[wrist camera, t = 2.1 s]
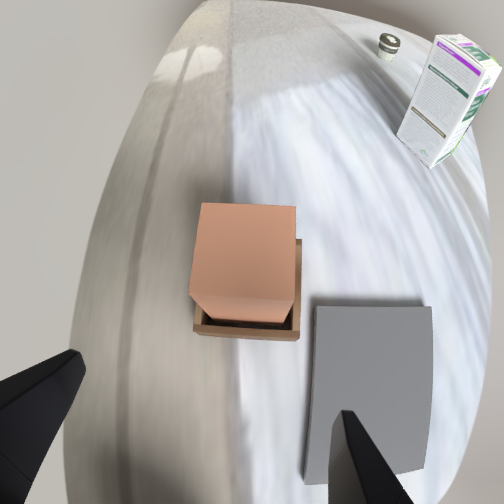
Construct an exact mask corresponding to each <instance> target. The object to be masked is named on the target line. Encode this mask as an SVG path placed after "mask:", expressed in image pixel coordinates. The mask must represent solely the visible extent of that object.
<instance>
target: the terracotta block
mask: <svg viewBox="0 0 504 504" xmlns="http://www.w3.org/2000/svg"><path fill="white" fill-rule="evenodd" d="M295 253H296V207H295V206H277V205H257V204H232V203H202V205H201V211H200V217H199V223H198V229H197V235H196V242H195V249H194V255H193V262H192V269H191V277H190V284H189V292H188V294H189V295H190V296H191V297H192V298H193V299H194V300H195V301H196V303H197V304H198V305H199V306H200V307H201V308H202V309H203V310H204V311H205V312H206V313H207V314H208V315H209V316H210V317H211V318H212V319H213V320H214V321H215V322H218V323H231V324H245V325H262V326H282V324H283V322H284V320H285V318H286V316H287V314H288V312H289V310H290V308H291V306H292V304H293V302H294V298H295Z"/></svg>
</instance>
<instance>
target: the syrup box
mask: <svg viewBox="0 0 504 504" xmlns="http://www.w3.org/2000/svg"><path fill="white" fill-rule="evenodd" d="M501 70H502V66H501V65H500V64H499V63H498V62H497V61H496V60H495V59H494V58H493V57H492V56H491V55H490V54H489V53H487V52H486V51H485V50H484V49H482V48H481V47H479V46H478V45H477V44H475V43H474V42H472V41H471V40H469V39H468V38H466V37H464V36H463V35H461V34H457V35H436V36H435V39H434V42H433V45H432V48H431V51H430V53H429V56H428V59H427V61H426V64H425V67H424V69H423V72H422V74H421V77H420V79H419V82H418V84H417V87H416V89H415V92H414V94H413V97H412V99H411V101H410V104H409V106H408V109H407V111H406V113H405V116H404V118H403V120H402V123H401V125H400V127H399V129H398V132H397V134H396V136H397V137H398V138H399V139H400V140H401V141H402V142H403V143H404V144H405V145H406V146H407V147H408V148H409V149H410V150H411V151H412V152H413V153H414V154H415V155H416V156H417V157H418V158H419V159H420V160H421V161H422V162H423V163H424V164H425V165H426V166H427V167H428V168H429V169H431V168H432V167H434V166H435V165H437V164H438V163H440V162H441V161H442V160H444V159H445V158H446V157H448V156H449V155H450V154H452V152H453V151H454V149H455V148H456V146H457V145H458V143H459V142H460V140H461V139H462V137H463V135H464V134H465V132H466V131H467V129H468V128H469V126H470V124H471V123H472V121H473V120H474V118H475V116H476V115H477V113H478V111H479V109H480V108H481V106H482V104H483V102H484V101H485V99H486V97H487V96H488V94H489V92H490V90H491V88H492V87H493V84H494V83H495V81H496V79H497V77H498V75H499V74H500V71H501Z"/></svg>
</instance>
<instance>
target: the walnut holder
mask: <svg viewBox="0 0 504 504" xmlns="http://www.w3.org/2000/svg"><path fill="white" fill-rule="evenodd" d="M301 265H302V239H296V253H295V298H294V302H293V304H292V306H291V308H290V324H289V330H268V329H251V328H236V327H223V326H211V325H207V324H208V314H207V313H206V312H205V311H204V310H203V309H202V308H201V307H200V306H199V305H198V304H197V303H196V306H195V315H194V324H193V331H194V332H196V333H197V334H199V335H205V336H216V337H228V338H241V339H257V340H275V341H296V340H298V339H299V338H300V313H301Z"/></svg>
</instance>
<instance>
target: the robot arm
mask: <svg viewBox="0 0 504 504" xmlns="http://www.w3.org/2000/svg"><path fill="white" fill-rule="evenodd" d="M85 372H86V366H85V364H84V361H83V358H82V355H81V353H80V352H79V351H76V350H74V349H69V350H67V351H64V352H62V353H60V354H58V355H56V356H54V357H52V358H49V359H47V360H45V361H43V362H41V363H39V364H36V365H34V366H32V367H30V368H28V369H26V370H24V371H21V372H19V373H17V374H15V375H13V376H11V377H8V378H6V379H4V380H2V381H0V504H24V502H25V499H26V497H27V495H28V493H29V490H30V488H31V486H32V483H33V481H34V479H35V477H36V475H37V472H38V470H39V468H40V466H41V464H42V462H43V460H44V458H45V456H46V454H47V452H48V450H49V447H50V446H51V443H52V441H53V440H54V438H55V436H56V434H57V432H58V430H59V428H60V426H61V424H62V422H63V420H64V419H65V417H66V415H67V413H68V411H69V409H70V407H71V405H72V403H73V401H74V399H75V396H76V394H77V391H78V389H79V387H80V384H81V382H82V380H83V377H84V375H85ZM328 504H414V503H413V502H412V500H411V499H410V497H409V496H408V494H407V493H406V491H405V490H404V489H403V487H402V485H401V483H400V482H399V480H398V479H397V477H396V476H395V474H394V473H393V471H392V470H391V468H390V466H389V465H388V463H387V462H386V460H385V459H384V457H383V456H382V454H381V452H380V451H379V449H378V448H377V446H376V445H375V443H374V442H373V440H372V439H371V437H370V435H369V434H368V432H367V431H366V429H365V428H364V426H363V425H362V423H361V421H360V420H359V418H358V417H357V415H356V414H355V412H354V411H352V410H341V411H340V412H339V413H338V415H337V417H336V419H335V421H334V423H333V425H332V431H331V443H330V454H329V464H328Z"/></svg>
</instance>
